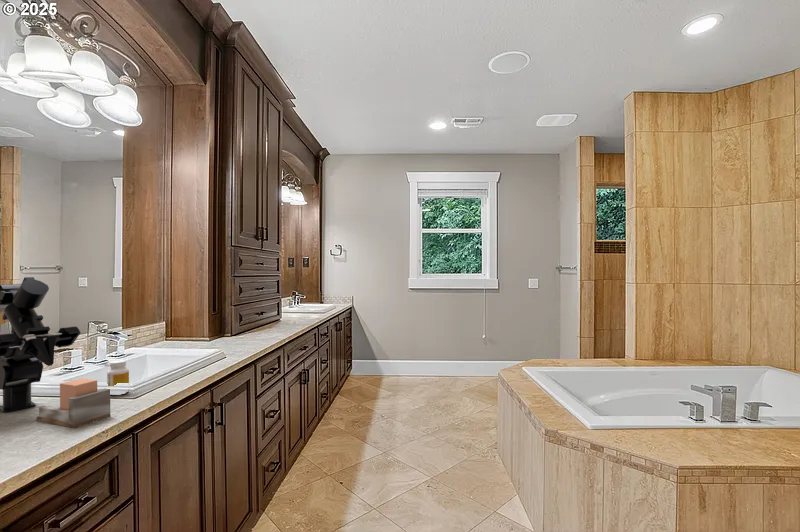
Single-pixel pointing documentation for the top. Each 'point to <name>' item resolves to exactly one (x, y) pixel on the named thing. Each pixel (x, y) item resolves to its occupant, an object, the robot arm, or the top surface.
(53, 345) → the robot arm
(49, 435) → the top surface
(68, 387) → the peach knobbed cube
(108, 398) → the rail
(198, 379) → the top surface
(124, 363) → the supplement bottle
